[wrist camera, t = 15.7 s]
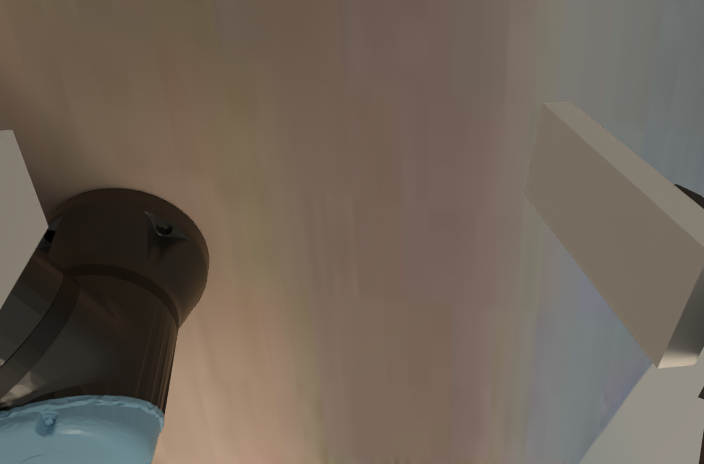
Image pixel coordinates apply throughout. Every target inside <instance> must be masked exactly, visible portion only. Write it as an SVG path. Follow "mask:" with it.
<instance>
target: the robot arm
mask: <svg viewBox="0 0 704 464" xmlns="http://www.w3.org/2000/svg"><path fill="white" fill-rule="evenodd" d="M525 195H526V197H527V198H528V199H529V201H530V202H531V203H532V205H533V206H534V207H535V209H536V210H537V211H538V213H539V214H540V215H541V216H542V218H543V219H544V220H545V222H546V223H547V224H548V226H549V227H550V228H551V230H552V231H553V232H554V234H555V235H556V236H557V237H558V239H559V240H560V241H561V243H562V244H563V245H564V247H565V248H566V249H567V251H568V252H569V253H570V255H571V256H572V257H573V258H574V260H575V261H576V262H577V264H578V265H579V266H580V268H581V269H582V270H583V272H584V273H585V274H586V276H587V277H588V278H589V279H590V281H591V282H592V283H593V285H594V286H595V287H596V289H597V290H598V291H599V293H600V294H601V295H602V297H603V298H604V299H605V300H606V302H607V303H608V304H609V306H610V307H611V308H612V310H613V311H614V312H615V314H616V315H617V316H618V318H619V319H620V320H621V321H622V323H623V324H624V325H625V327H626V328H627V329H628V331H629V332H630V333H631V335H632V336H633V337H634V339H635V340H636V341H637V342H638V344H639V345H640V346H641V348H642V349H643V350H644V352H645V353H646V354H647V356H648V357H649V358H650V360H651V361H652V362H653V363H654V365H655V366H656V367H657V368H667V367H677V366H686V365H694V364H695V363H696V361H697V359H698V357H699V355H700V353H701V351H702V349H703V347H704V198H703V197H702V196H701V195H699V194H696V193H694V192H692V191H690V190H688V189H686V188H684V187H682V186H679V185H677V184H675V185H673V184H672V183H671V182H670V181H668V180H667V179H666V178H665V177H664V176H662V175H661V174H660V173H659V172H657V171H656V170H655V169H654V168H652V167H651V166H650V165H649V164H647V163H646V162H645V161H644V160H643V159H641V158H640V157H639V156H638V155H636V154H635V153H634V152H633V151H631V150H630V149H629V148H628V147H626V146H625V145H624V144H623V143H621V142H620V141H619V140H618V139H617V138H615V137H614V136H613V135H612V134H610V133H609V132H608V131H607V130H605V129H604V128H603V127H602V126H600V125H599V124H598V123H597V122H596V121H594V120H593V119H592V118H591V117H589V116H588V115H587V114H586V113H584V112H583V111H582V110H581V109H579V108H578V107H577V106H576V105H575V104H573V103H572V102H571V101H569V102H549V103H543V104H542V109H541V114H540V119H539V124H538V129H537V134H536V139H535V144H534V149H533V154H532V159H531V164H530V169H529V174H528V179H527V184H526V189H525ZM208 269H209V254H208V249H207V246H206V243H205V240H204V238H203V236H202V234H201V233H200V231H199V229H198V228H197V227H196V225H195V224H194V223H193V222H192V221H191V220H190V219H189V218H188V217H187V216H186V215H185V214H184V213H183V212H181V211H180V210H179V209H177V208H176V207H174V206H173V205H171V204H169V203H168V202H166V201H164V200H162V199H159V198H157V197H155V196H152V195H149V194H145V193H142V192H137V191H132V190H124V189H104V190H96V191H91V192H87V193H84V194H81V195H78V196H76V197H74V198H72V199H70V200H68V201H66V202H65V203H63V204H62V205H61V206H59V207H58V208H57V209H56V210H55V211H54V212H53V213H52V214H51V215H50V217H49V218H48V220H47V221H46V219H45V216H44V213H43V210H42V208H41V205H40V202H39V200H38V197H37V194H36V192H35V189H34V186H33V184H32V181H31V178H30V176H29V173H28V170H27V168H26V165H25V162H24V159H23V157H22V154H21V151H20V149H19V146H18V143H17V141H16V138H15V135H14V133H13V130H0V464H151V462H152V459H153V456H154V452H155V448H156V444H157V440H158V437H159V434H160V432H161V431H162V429H163V426H164V415H165V409H166V403H167V396H168V390H169V384H170V378H171V372H172V365H173V359H174V353H175V347H176V340H177V334H178V329H179V328H180V327H181V325H182V324H183V322H184V321H185V320H186V318H187V317H188V315H189V314H190V313H191V311H192V310H193V308H194V307H195V306H196V304H197V303H198V301H199V300H200V298H201V296H202V294H203V292H204V289H205V286H206V282H207V276H208ZM698 397H699V398H702V399H704V387H703V389H702V391H701V393H700V395H699V396H698ZM699 464H704V432H703V439H702V446H701V453H700V460H699Z"/></svg>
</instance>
